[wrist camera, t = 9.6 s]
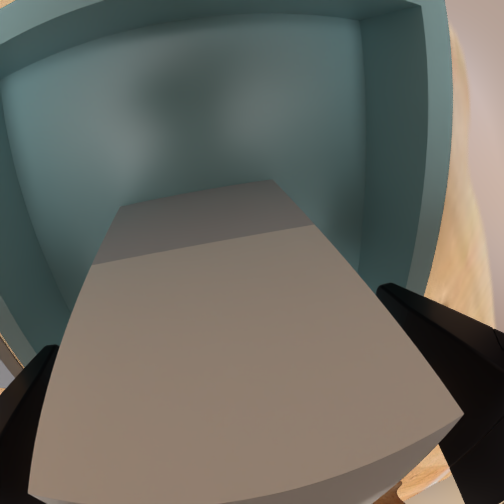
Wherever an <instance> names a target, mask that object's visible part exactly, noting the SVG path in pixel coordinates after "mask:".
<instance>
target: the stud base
mask: <svg viewBox="0 0 504 504" xmlns="http://www.w3.org/2000/svg"><path fill="white" fill-rule="evenodd" d="M22 370H23V369H22V367H21V366H20V365H19V363H18V362H17V361H16V359H15V358H14V357H13V355H12V354H11V352H10V351H9V349H8V348H7V347H6V345H5V344H4V342H3V341H2V339H1V338H0V388H7V387H8V385H9V384H10V383H11V382H12V381H13V380H14V379H15V378H16V376H17V375H18V374H19V373H20V372H21V371H22Z"/></svg>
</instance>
